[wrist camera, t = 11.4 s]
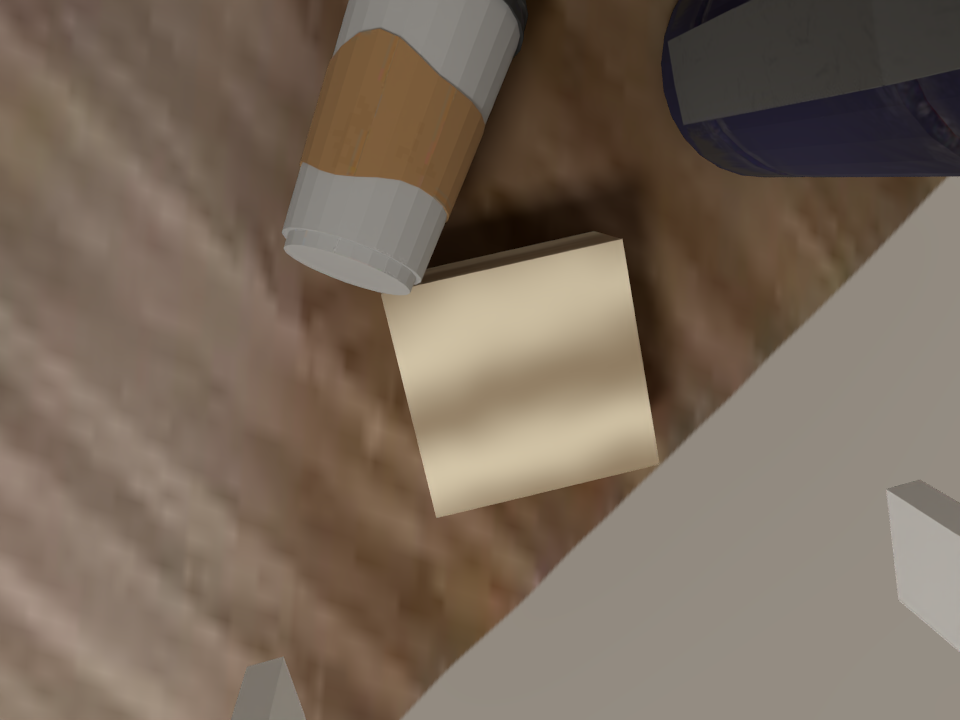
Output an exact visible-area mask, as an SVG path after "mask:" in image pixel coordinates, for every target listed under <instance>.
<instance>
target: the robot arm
mask: <svg viewBox="0 0 960 720" xmlns="http://www.w3.org/2000/svg"><path fill="white" fill-rule="evenodd" d="M886 492H887V501H888V510H889V519H890V528H891V537H892V546H893V555H894V563H895V572H896V580H897V590H898V599H899V601H900V602H901V603H903V604H904V605H905V606H906V607H907V608H909V609H910V610H911V611H912V612H913V613H914V614H916V615H917V616H918V617H919V618H920V619H922V620H923V621H924V622H925V623H926V624H927V625H929V626H930V627H931V628H932V629H933V630H935V631H936V632H937V633H938V634H939V635H940V636H942V637H943V638H944V639H945V640H946V641H947V642H948V643H950V644H951V645H952V646H953V647H954V648H956V649H957V650H958V651H959V652H960V503H959V502H957V501H956V500H954V499H952V498H950V497H949V496H947V495H945V494H943V493H942V492H940V491H939V490H937V489H935V488H933V487H932V486H930V485H928V484H926V483H925V482H923V481H921V480H917V481H913V482H910V483H906V484H902V485H899V486H895V487H892V488H888V489H886ZM231 720H306V718H305V715H304V712H303V709H302V707H301V704H300V701H299V698H298V696H297V693H296V690H295V687H294V684H293V682H292V679H291V676H290V673H289V671H288V668H287V665H286V662H285V659H284V657H281V658H277V659H273V660H270V661H266V662H263V663H259V664H256V665H252V666H248V667H247V669H246V672H245V675H244V679H243V682H242V685H241V688H240V692H239V695H238V698H237V702H236V705H235V708H234V712H233V715H232V718H231Z"/></svg>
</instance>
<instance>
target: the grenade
mask: <svg viewBox="0 0 960 720" xmlns="http://www.w3.org/2000/svg"><path fill="white" fill-rule="evenodd" d="M661 66H662V78H663V89H664V93H665V97H666V100H667V103H668V107H669V110H670V113H671V116H672V118H673V120H674V121H675V123H676V125H677V127H678V128H679V130H680V132H681V134H682V135H683V137H684V138H685V139H686V140H687V142H688V143H689V144H690V145H691V146H692V147H693V148H694V149H695V150H696V151H697V152H698V153H699V154H700V155H701V156H702V157H704V158H705V159H707V160H709V161H710V162H712V163H713V164H715V165H716V166H718V167H719V168H722V169H725V170H728V171H731V172H734V173H737V174H739V175H744V176H756V177H930V176H960V0H679V1H678V3H677V5H676V6H675V8H674V10H673V12H672V15H671V18H670V21H669V24H668V27H667V30H666V33H665V36H664V45H663V53H662V61H661Z"/></svg>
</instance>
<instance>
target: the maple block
mask: <svg viewBox="0 0 960 720" xmlns="http://www.w3.org/2000/svg"><path fill="white" fill-rule="evenodd" d="M381 296H382V300H383V304H384V308H385V312H386V316H387V320H388V324H389V328H390V332H391V336H392V340H393V344H394V348H395V352H396V356H397V361H398V365H399V369H400V373H401V377H402V381H403V385H404V389H405V393H406V397H407V401H408V405H409V409H410V413H411V417H412V421H413V425H414V429H415V433H416V437H417V441H418V445H419V449H420V453H421V457H422V462H423V466H424V470H425V474H426V478H427V482H428V486H429V490H430V494H431V498H432V502H433V506H434V510H435V514H436V518H438V517H442V516H447V515H451V514H455V513H459V512H463V511H467V510H472V509H476V508H480V507H484V506H488V505H492V504H496V503H501V502H505V501H509V500H513V499H517V498H521V497H526V496H530V495H534V494H538V493H542V492H546V491H550V490H555V489H559V488H563V487H567V486H571V485H575V484H580V483H584V482H588V481H592V480H596V479H600V478H604V477H609V476H613V475H617V474H621V473H625V472H629V471H633V470H638V469H642V468H646V467H650V466H654V465H658V464H659V458H658V452H657V446H656V440H655V434H654V428H653V422H652V416H651V410H650V404H649V397H648V391H647V385H646V379H645V373H644V367H643V361H642V355H641V349H640V343H639V337H638V331H637V325H636V318H635V312H634V306H633V300H632V294H631V288H630V282H629V276H628V270H627V264H626V258H625V252H624V246H623V239H621V238H617V237H613V236H610V235H606V234H603V233H599V232H595V231H592V232H588V233H583V234H579V235H574V236H570V237H566V238H561V239H557V240H552V241H548V242H543V243H539V244H535V245H530V246H526V247H521V248H517V249H512V250H508V251H504V252H499V253H495V254H490V255H486V256H481V257H477V258H472V259H468V260H464V261H459V262H455V263H450V264H446V265H441V266H437V267H433V268H428V269H426V271H425V273H424V276H423V278H422V281H421V282H420V283H418V284H416V285H413V287H412V290H411V292H410V294H407V295H392V294H386V293H381Z"/></svg>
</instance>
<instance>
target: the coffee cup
mask: <svg viewBox="0 0 960 720" xmlns="http://www.w3.org/2000/svg"><path fill="white" fill-rule="evenodd" d="M527 18H528V12H527V6H526V0H349V2H348V5H347V9H346V12H345V16H344V19H343V23H342V26H341V30H340V33H339V36H338V40H337V43H336V47H335V50H334V54H333V57H332V59H331V60H330V62H329V65H328V67H327V70H326V74H325V77H324V81H323V84H322V88H321V91H320V95H319V98H318V102H317V105H316V109H315V112H314V116H313V119H312V123H311V126H310V130H309V133H308V136H307V140H306V143H305V147H304V150H303V154H302V157H301V161H300V164H299V165H300V167H301V168H300V172H299V175H298V178H297V182H296V185H295V189H294V192H293V196H292V199H291V203H290V206H289V210H288V213H287V217H286V220H285V223H284V227H283V230H282V234H283V235H284V237H285V238H286V242H285V246H284V250H285V251H286V253H287V254H289V255H290V256H291V257H293V258H294V259H296V260H297V261H299V262H301V263H303V264H304V265H306V266H308V267H310V268H312V269H314V270H316V271H319V272H321V273H323V274H326V275H328V276H330V277H333V278H336V279H338V280H341V281H344V282H346V283H349V284H353V285H356V286H359V287H362V288H365V289H369V290H373V291H377V292H381V293H386V294H392V295H407V294H410V292H411V290H412V287H413V285H416V284H418V283H420V282H421V281H422V278H423V276H424V273H425V271H426V268H427V266H428V263H429V261H430V259H431V256H432V254H433V251H434V249H435V246H436V244H437V241H438V239H439V237H440V234H441V232H442V229H443V227H444V224H445V223H446V222H447V221H448V219H449V216H450V214H451V212H452V209H453V207H454V204H455V202H456V199H457V197H458V195H459V192H460V190H461V187H462V185H463V182H464V180H465V178H466V175H467V173H468V170H469V168H470V165H471V163H472V160H473V158H474V156H475V153H476V151H477V148H478V146H479V143H480V141H481V139H482V136H483V133H484V129H485V124H486V122H487V119H488V117H489V115H490V112H491V110H492V107H493V105H494V102H495V100H496V97H497V95H498V93H499V90H500V88H501V85H502V83H503V80H504V78H505V75H506V73H507V71H508V68H509V66H510V63H511V61H512V59H513V58H514V57H515V56H516V55H517V54H518V52H519V51H520V50H521V46H522V42H523V37H524V30H525V26H526V22H527Z"/></svg>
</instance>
